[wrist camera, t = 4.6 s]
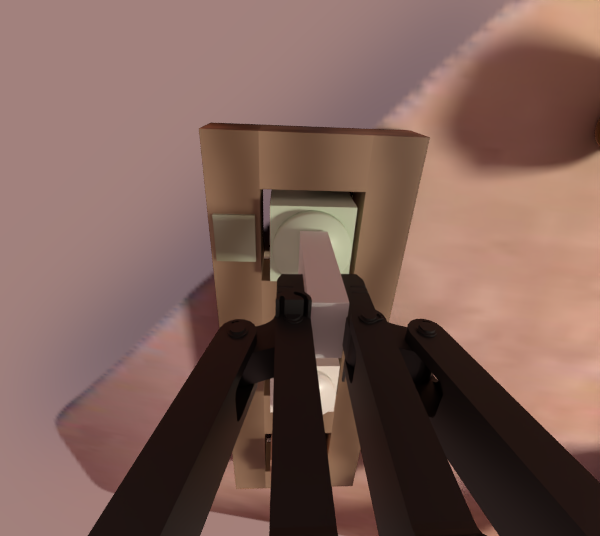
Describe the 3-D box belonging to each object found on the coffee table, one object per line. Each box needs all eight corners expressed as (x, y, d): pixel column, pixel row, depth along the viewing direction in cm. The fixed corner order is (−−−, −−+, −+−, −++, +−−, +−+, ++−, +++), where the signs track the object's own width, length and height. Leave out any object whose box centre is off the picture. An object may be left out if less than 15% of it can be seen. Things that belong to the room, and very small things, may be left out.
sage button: (346, 189, 21) (360, 212, 17) (339, 256, 23) (349, 289, 19) (271, 187, 21) (269, 210, 17) (271, 255, 23) (269, 288, 19)
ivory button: (333, 332, 25) (341, 375, 22) (328, 375, 28) (334, 421, 24) (271, 332, 25) (269, 375, 21) (271, 376, 27) (269, 422, 24)
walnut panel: (410, 130, 20) (431, 138, 17) (347, 457, 36) (352, 488, 34) (210, 122, 19) (198, 129, 16) (239, 459, 36) (235, 491, 33)
